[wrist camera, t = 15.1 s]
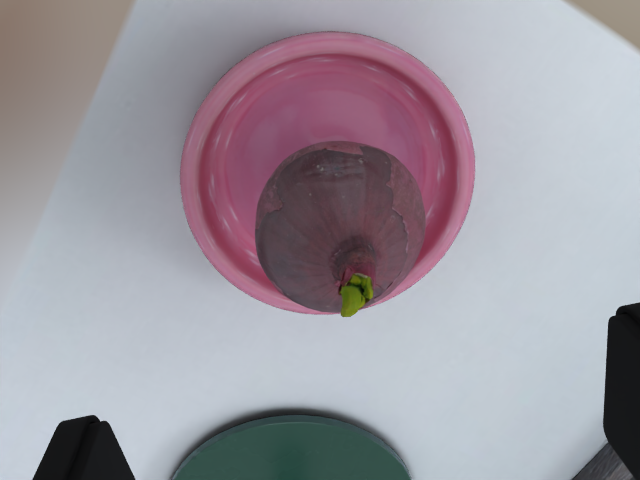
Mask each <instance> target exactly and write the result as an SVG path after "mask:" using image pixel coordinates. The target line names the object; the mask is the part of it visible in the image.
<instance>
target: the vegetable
mask: <svg viewBox="0 0 640 480" xmlns="http://www.w3.org/2000/svg"><path fill="white" fill-rule="evenodd" d="M425 228H426V217H425V210H424V204H423V200H422V196H421V192H420V189H419V187H418V184H417V182H416V180H415V178H414V177H413V176H412V174H411V173H410V172H409V170H408V169H407V168H406V167H405V166H404V165H403V164H402V163H401V162H400V161H399V160H398V159H397V158H396V157H395V156H393V155H391V154H389V153H387V152H385V151H383V150H381V149H379V148H377V147H373V146H370V145H366V144H362V143H356V142H349V141H327V142H320V143H316V144H313V145H310V146H307V147H305V148H302V149H300V150H298V151H296V152H295V153H293V154H291V155H290V156H288V157H287V158H286V159H285V160H283V161H282V163H281V164H280V165H279V166H278V167H277V168H276V170H275V171H274V172H273V174H272V175H271V177H270V178H269V179H268V181H267V182H266V184H265V187H264V189H263V191H262V193H261V195H260V198H259V201H258V204H257V212H256V222H255V244H256V251H257V256H258V259H259V262H260V264H261V267H262V269H263V270H264V272H265V274H266V276H267V277H268V279H269V280H270V282H271V283H272V284H273V286H274V287H275V288H276V289H277V290H278V291H279V292H280V293H281V294H282V295H284V296H285V297H287V298H288V299H290V300H292V301H293V302H295V303H297V304H299V305H302V306H304V307H307V308H309V309H313V310H316V311H320V312H330V313H339V312H341V316H343V317H351V316H352V315H354V314H355V313H356V312H357V311H358V310H359V309H362V308H365V307H367V306H370V305H371V304H373V303H376V302H377V301H379V300H381V299H383V298H384V297H386V296H387V295H389V294H390V293H391V292H392V291H393V290H394V289H395V288H396V287H397V286H398V285H399V284H400V283H401V282H402V281H403V280H404V279H405V278H406V277H407V275H408V274H409V272H410V271H411V269H412V268H413V266H414V264H415V262H416V260H417V258H418V256H419V253H420V250H421V247H422V245H423V241H424V236H425Z"/></svg>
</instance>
